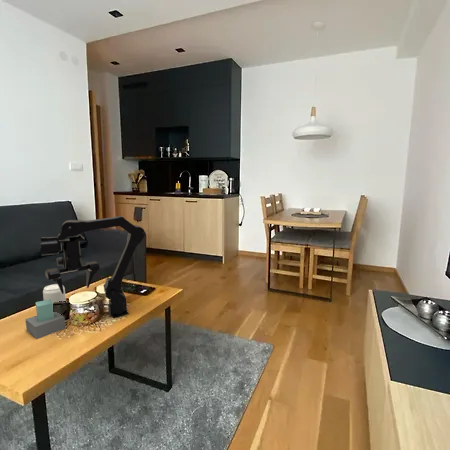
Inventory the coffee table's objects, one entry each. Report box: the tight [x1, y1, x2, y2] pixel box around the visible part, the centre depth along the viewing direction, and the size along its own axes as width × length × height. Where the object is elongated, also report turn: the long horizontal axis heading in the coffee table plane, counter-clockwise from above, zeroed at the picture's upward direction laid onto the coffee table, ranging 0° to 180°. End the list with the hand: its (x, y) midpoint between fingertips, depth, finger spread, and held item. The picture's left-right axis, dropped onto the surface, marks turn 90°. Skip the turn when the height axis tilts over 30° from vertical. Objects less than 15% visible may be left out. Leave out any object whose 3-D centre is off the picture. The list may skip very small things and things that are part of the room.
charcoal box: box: [25, 312, 66, 340], centre depth 113 cm, size 10×10×5 cm
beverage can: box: [42, 283, 67, 303], centre depth 126 cm, size 8×8×12 cm
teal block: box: [35, 299, 54, 322], centre depth 113 cm, size 5×5×6 cm
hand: (75, 290), depth 118 cm, fingers open, 9 cm apart
